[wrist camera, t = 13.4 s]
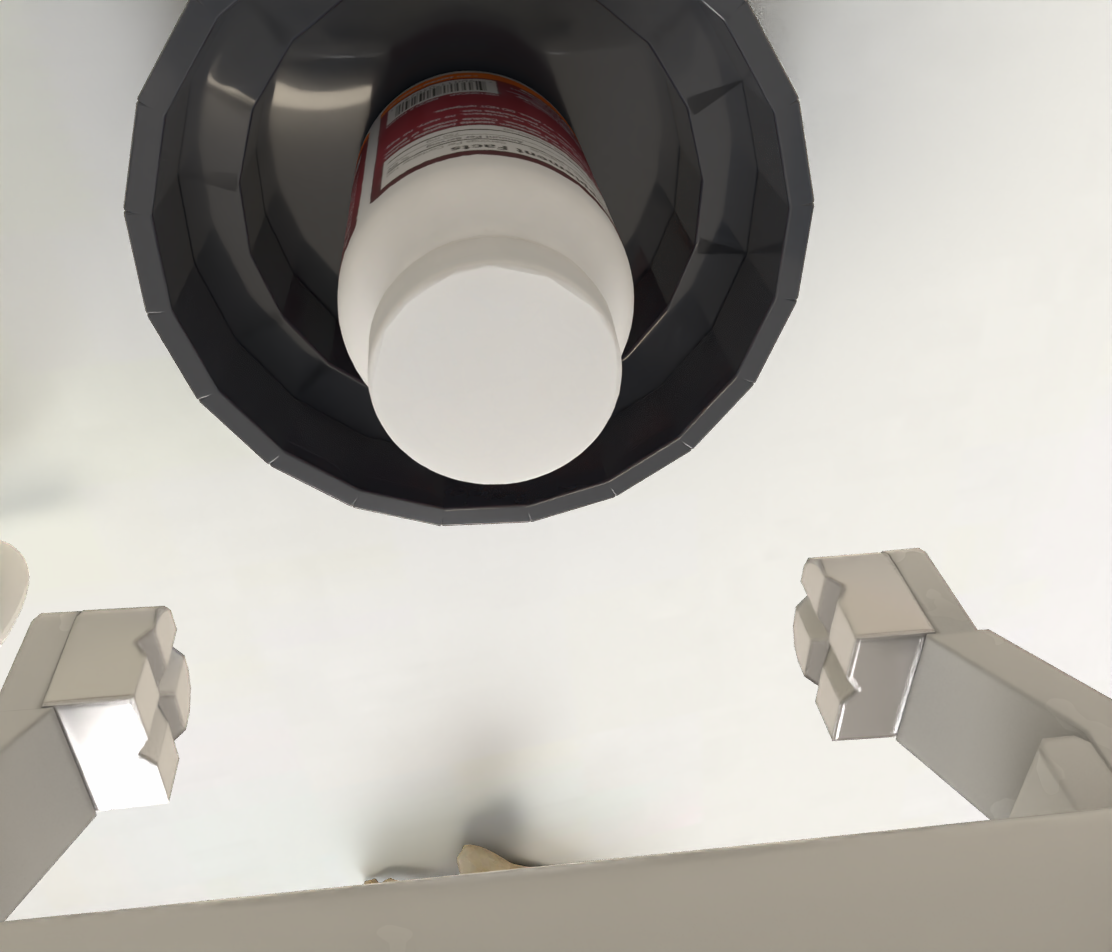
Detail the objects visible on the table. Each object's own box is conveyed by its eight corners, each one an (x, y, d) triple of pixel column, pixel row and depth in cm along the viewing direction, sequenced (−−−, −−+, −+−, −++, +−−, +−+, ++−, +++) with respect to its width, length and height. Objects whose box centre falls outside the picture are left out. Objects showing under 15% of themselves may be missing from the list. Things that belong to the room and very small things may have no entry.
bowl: (53, 111, 26) (-34, 190, 21) (539, -313, 22) (570, -336, 17) (428, 489, 34) (428, 611, 29) (834, 226, 30) (914, 315, 25)
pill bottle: (501, 327, 30) (532, 567, 21) (313, 213, 28) (257, 430, 19) (632, 153, 28) (730, 342, 19) (438, 10, 25) (443, 147, 16)
